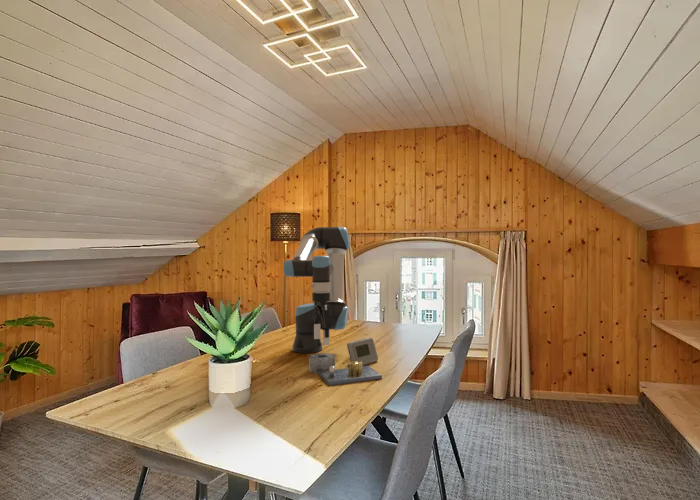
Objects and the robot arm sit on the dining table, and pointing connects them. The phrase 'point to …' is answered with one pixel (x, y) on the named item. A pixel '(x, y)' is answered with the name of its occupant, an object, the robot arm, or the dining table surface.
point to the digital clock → (362, 351)
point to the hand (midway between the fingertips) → (321, 341)
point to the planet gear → (321, 362)
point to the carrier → (349, 374)
